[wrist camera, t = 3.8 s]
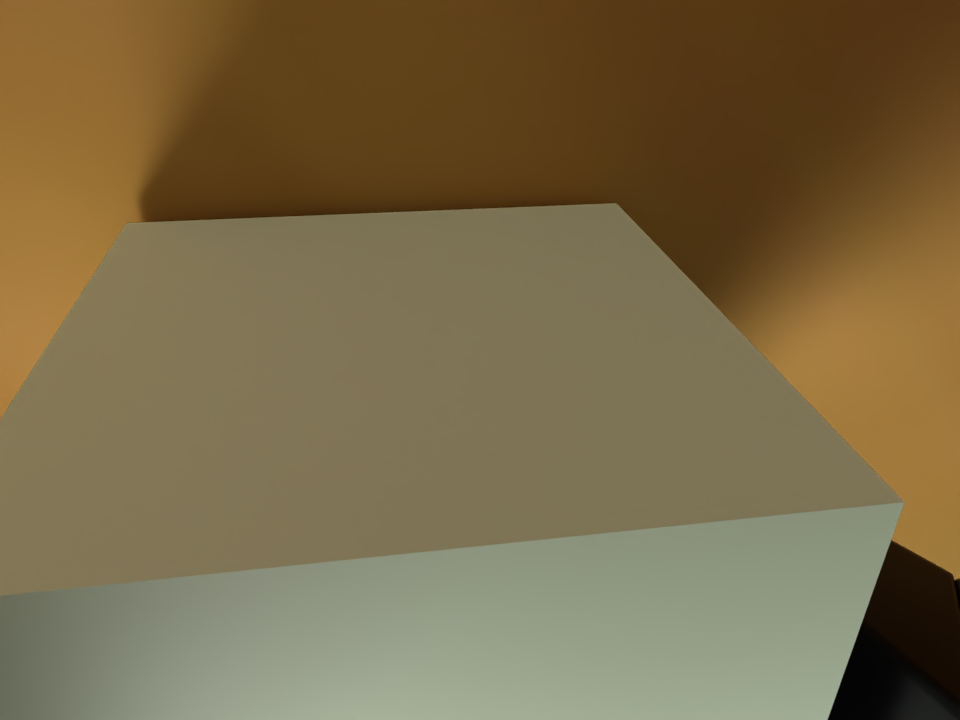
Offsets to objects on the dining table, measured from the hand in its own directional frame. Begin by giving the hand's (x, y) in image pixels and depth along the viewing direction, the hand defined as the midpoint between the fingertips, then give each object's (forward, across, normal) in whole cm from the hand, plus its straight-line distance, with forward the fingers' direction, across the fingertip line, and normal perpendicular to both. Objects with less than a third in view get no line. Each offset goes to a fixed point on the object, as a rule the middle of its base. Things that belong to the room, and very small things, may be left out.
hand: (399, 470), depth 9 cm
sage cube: (+1, 0, 0) cm, 1 cm away
